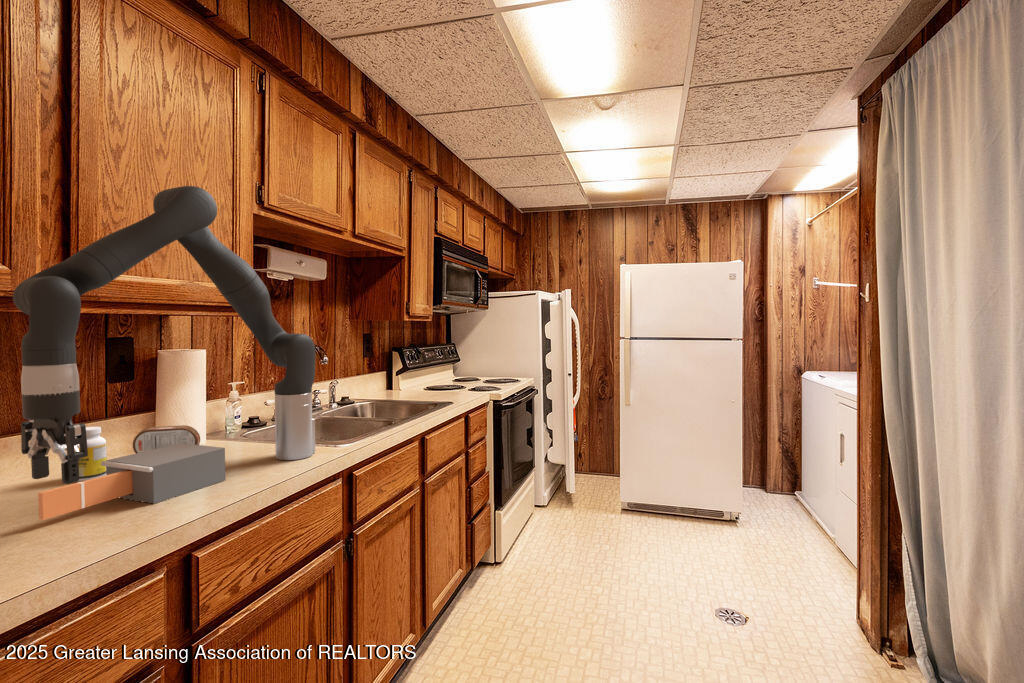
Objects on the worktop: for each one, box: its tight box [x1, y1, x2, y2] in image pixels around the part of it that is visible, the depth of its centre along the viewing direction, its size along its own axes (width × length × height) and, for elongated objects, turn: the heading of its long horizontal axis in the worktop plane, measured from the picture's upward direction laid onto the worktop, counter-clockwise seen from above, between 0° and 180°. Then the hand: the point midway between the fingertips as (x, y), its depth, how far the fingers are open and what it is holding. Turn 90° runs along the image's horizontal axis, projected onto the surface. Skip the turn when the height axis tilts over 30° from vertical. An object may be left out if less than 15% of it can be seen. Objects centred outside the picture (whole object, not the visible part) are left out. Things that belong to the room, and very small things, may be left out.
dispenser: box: [101, 443, 226, 504], centre depth 107 cm, size 17×14×8 cm
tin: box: [132, 424, 201, 454], centre depth 133 cm, size 15×3×8 cm, turn 111°
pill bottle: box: [77, 426, 108, 482], centre depth 115 cm, size 6×6×12 cm
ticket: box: [37, 470, 133, 521], centre depth 94 cm, size 18×1×5 cm, turn 160°
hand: (55, 480), depth 88 cm, fingers open, 8 cm apart
